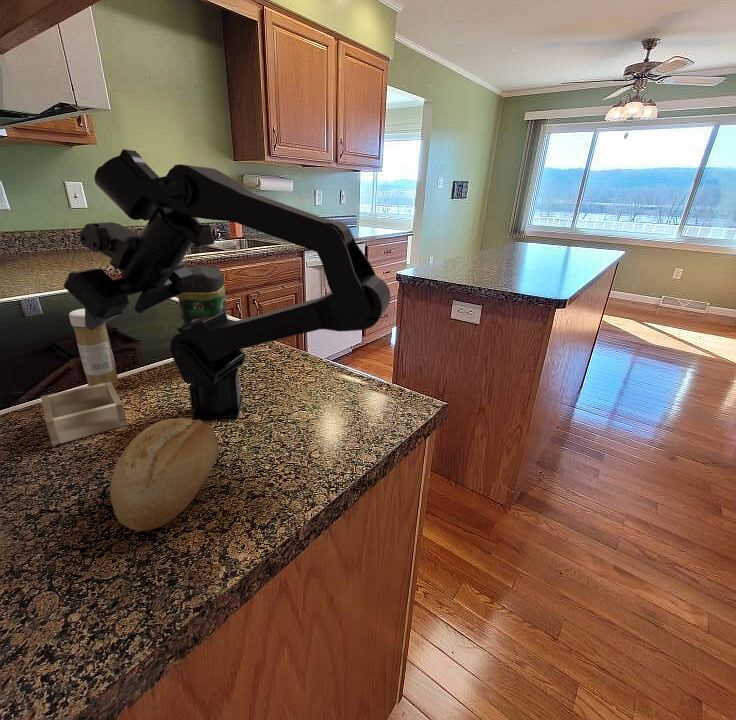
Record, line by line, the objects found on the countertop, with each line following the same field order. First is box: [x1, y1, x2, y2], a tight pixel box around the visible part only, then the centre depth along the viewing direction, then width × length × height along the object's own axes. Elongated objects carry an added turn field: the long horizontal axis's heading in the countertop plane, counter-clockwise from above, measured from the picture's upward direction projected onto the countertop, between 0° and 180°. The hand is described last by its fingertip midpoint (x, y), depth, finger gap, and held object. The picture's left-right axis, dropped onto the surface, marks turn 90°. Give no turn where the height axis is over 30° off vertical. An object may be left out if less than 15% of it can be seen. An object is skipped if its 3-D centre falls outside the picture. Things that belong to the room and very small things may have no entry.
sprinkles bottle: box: [68, 307, 121, 390], centre depth 64 cm, size 5×5×14 cm
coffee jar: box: [177, 264, 229, 327], centre depth 76 cm, size 10×8×19 cm
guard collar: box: [40, 382, 128, 446], centre depth 57 cm, size 9×9×4 cm
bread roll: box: [109, 417, 220, 532], centre depth 44 cm, size 10×15×8 cm, turn 2°
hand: (114, 318), depth 60 cm, fingers open, 9 cm apart
